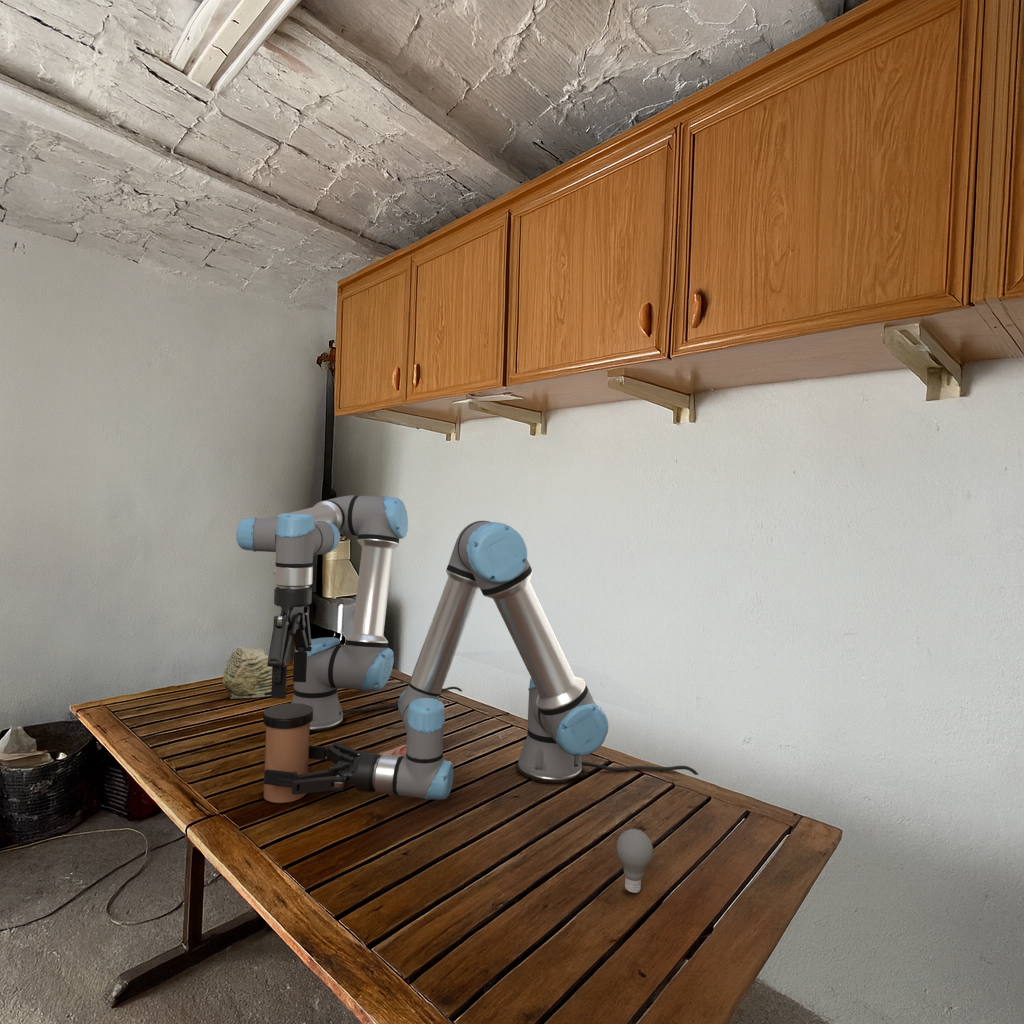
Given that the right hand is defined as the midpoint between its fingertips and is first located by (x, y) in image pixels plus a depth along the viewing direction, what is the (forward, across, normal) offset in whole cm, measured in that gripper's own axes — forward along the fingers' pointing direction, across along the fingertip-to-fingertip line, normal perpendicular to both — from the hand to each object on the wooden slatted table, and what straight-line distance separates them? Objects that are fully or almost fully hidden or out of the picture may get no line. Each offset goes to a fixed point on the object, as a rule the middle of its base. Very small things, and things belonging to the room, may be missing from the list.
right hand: (281, 763), depth 134 cm
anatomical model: (-18, +20, -7) cm, 27 cm away
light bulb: (-73, -19, -7) cm, 75 cm away
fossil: (+40, +59, -7) cm, 71 cm away
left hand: (-1, 0, +16) cm, 16 cm away
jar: (-1, 0, -7) cm, 7 cm away
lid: (-1, 0, +11) cm, 11 cm away
